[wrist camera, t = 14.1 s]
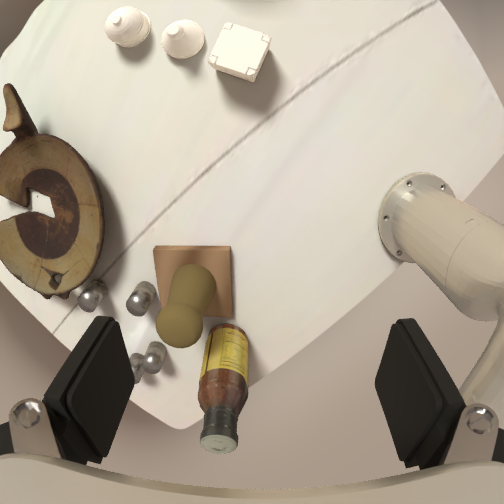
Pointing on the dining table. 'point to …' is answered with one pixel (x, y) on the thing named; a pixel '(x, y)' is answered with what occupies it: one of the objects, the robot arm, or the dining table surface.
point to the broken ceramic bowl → (63, 203)
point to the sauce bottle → (223, 387)
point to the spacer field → (136, 307)
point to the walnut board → (205, 256)
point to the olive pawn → (186, 306)
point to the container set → (194, 41)
